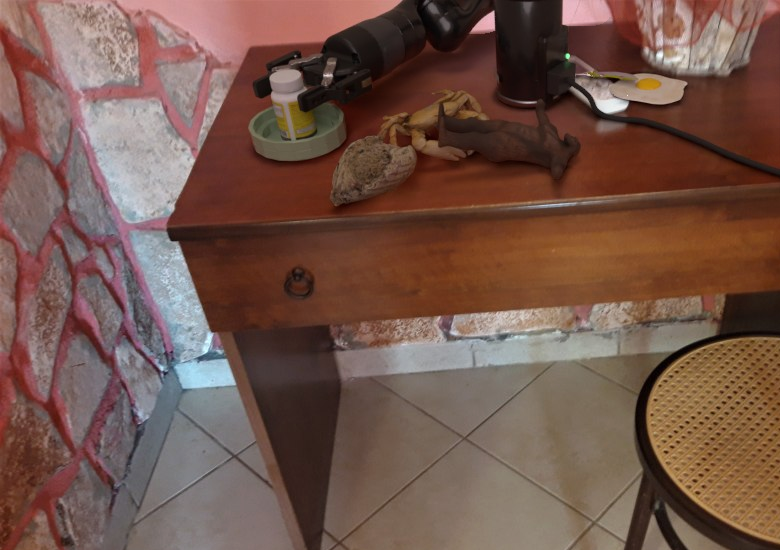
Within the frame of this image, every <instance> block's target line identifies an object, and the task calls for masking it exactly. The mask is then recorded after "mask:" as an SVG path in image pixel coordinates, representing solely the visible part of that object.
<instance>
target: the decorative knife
mask: <svg viewBox="0 0 780 550" xmlns="http://www.w3.org/2000/svg"><path fill="white" fill-rule="evenodd" d="M583 73H584V72H583ZM587 73H588V74H590V75H591V77H593V78H592V79H594V78H601V79H604V78H614V79H619V80H622V79H626V80H630V81H634V82H636V81H637V80H638V78H637V77H636V76H634V74H631V73H628V72H621V71H620V72H619V71H598V70H595V69H594V70H592V71H590V70H588V71H587ZM587 73H586V72H585V73H584V74H587ZM592 75H593V76H592ZM600 75H603V76H604V77H601V76H600Z"/></svg>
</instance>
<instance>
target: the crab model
mask: <svg viewBox="0 0 780 550" xmlns="http://www.w3.org/2000/svg"><path fill="white" fill-rule="evenodd" d="M431 94H432V95H440V94H443V95H444V96H442V97H441V98H439V99H437V100H435V101H434V102H433V103H432V104H430V105H428V106H426V107H424V108H421V109H419V110H418V111H416V112H414V113H413V114H411V115H410V113H408V112H406V111H405V112H400V113H397V114H394V115H388V114H386V115H384V116H383V117H382V121H384V122H383V123H382V124H381V126H380V128H379V132H378V133H377V134H376V136H382V138H383V140H384V139H385V138H386V136H387V134H388V135H389V137H390V138H389V144H391V145H395V146H398V147H399V143H398V139H397V134H399V135H402V136H405V137H406V136H407V137H410V136H411V146H412V148H413V149H414V150H415V151H416V152H419V153H421V154H424V155H427V156H430V157H432V158H437V159H442V160H446V161H455V162H458V161H459V160H460V158H459V157H461V158H463V159H465V158H466V157H467V156H470V155H472V154H474V153H475V151H473V150H466V152H465V151H464V150H461V149H458V148H454V147H451V146H445V147H442V148H439V147H438V140H434V139H429V140H427V139H426V135H428V136H430V137H432V135H431V132H430V131H431V130H434V129H435V128H437V120H438V110H439V103H440V102H443V105H444V112H445V114H446V115H448V116H452V117H455V118H458V119H466V118H468V117H475V118H477V119H479V120H491V119H490V117H489V115H487V114H486V113H484V112H483V108H482V106H481V104H480V103H479V102H478V100H477V99H476V98H475V97H474V96H472V95H471V94H469V93H468V92H467V91H466V90H463V89H460V90H457V92H456V91H453V90H451V89H441V90H436V91H433V92H431ZM462 106H464V108H463V109H461V107H462ZM470 108H472V109H473V110H470ZM388 132H389V133H388Z"/></svg>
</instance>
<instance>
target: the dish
mask: <svg viewBox="0 0 780 550" xmlns="http://www.w3.org/2000/svg"><path fill="white" fill-rule="evenodd" d="M313 114H314V118H315V123H316V128H317V132H318V135H316V136H313V137H310V138H307V139H300V140H294V141H283V140H282V138H281V134H280V130H279V126H278V123H277V119H276V115H275V111H274V107H273V105H272V106H269V107H268V108H265V109H264V110H262V111H260V112H258V113H256V114H255V116H254V117H252V118H251V119H250V120H249V123H248V128H247V129H248V133H249V136H250V141H251V144H252V146H253V148H254V151H255V152H256V153H257V154H259V155H260V156H262V157H264V158H266V159H270V160H275V161H280V162H282V161H283V162H300V161H307V160H308V161H309V160H313V159H316V158H319V157H321V156H324V155H327V154H329V153H331V152H332V151H334V150H335V149H337V148H339V147H341V145H343V143H344V142H345V141H346V140H347V133H348V129H347V124H346V119H345V113H344V112H343V110H342V109H341V108H340V107H339V106H337V105H335V104H333V103H323V104H321V105H320V106H318V107H316V108H314V109H313Z"/></svg>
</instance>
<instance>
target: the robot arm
mask: <svg viewBox="0 0 780 550" xmlns="http://www.w3.org/2000/svg"><path fill="white" fill-rule="evenodd" d="M491 13H493V14H494V15H493V16H494V17H493V18H494V39H495V40H494V41H495V43H494V44H495V65H496V66H495V67H496V68H495V67H493V71H494V72H493V73H494V77H495V79H496V96H497V99H498V100H499V101H500V102H501V103H503V104H505V105H507V106H510V107H514V108H521V109H533V108H535V109H536V104H537V101H538V100H539V99H542V100H543V102H544V103H545V109H548V108H549V107H550V106H552V105H553V104H555V103H556V102H558V101H559V100H560V99H561V98H563V97H564V96H566V95H567V94H568V90H569V89H570V88H573V89H575V90H576V91H578V92H580V93H581V94H582V95H583V96H584V97H585V98H586V100H587V101H588V103H589V105H590V108H591V110H592V112H593V113H594V114H595V115H597V116H599V117H600V118H601V119H604V120H607V121H612V122H617V123H625V124H626V123H628V124H641V125H646V126H649V127H652V128H656V129H659V130H661V131H665V132H667V133H670V134H673V135H676V136H678V137H681V138H682V139H686V140H688V141H690V142H693V143H696V144H698V145H700V146H702V147H705V148H707V149H708V150H710V151H712V152H715V153H717V154H719V155H722V156H724V157H726V158H728V159H731V160H734V161H737V162H739V163H741V164H745V165H746V166H750V167H752V168H754V169H757V170H760V171H764V172H766V173H768V174H769V173H770V174H772V175H776V176H779V177H780V168H777V167H774V166H771V165H769V164H765V163H762V162H759V161H756V160H753V159H751V158H748V157H745V156H743V155H740V154H737V153H734V152H733V151H730V150H727V149H725V148H723V147H721V146H719V145H716V144H715V143H712V142H710V141H708V140H706V139H703V138H701V137H699V136H696V135H694V134H691V133H688V132H687V131H683V130H681V129H678V128H676V127H674V126H670V125H669V124H668V125H667V124H665V123H661V122H658V121H655V120H651V119H649V118H644V117H638V116H637V117H636V116H617V115H611V114H608V113H606V112H604V111H602V110H601V109H599V108H598V106H597V104H596V101H595V98H594V97H593V96H592V93H590V92H589V91H588V90H587V89H586V88H585V87H584V86H582V85H581V84H579V83H578V82H576V76H575V73H577V72H576V70H577V68H576V67H577V63H574V62H571V61H569V59H570V54H569V33H570V32H569V30H570V29H569V26H568V25H567V24H563V22H564V21H563V18H564V0H401V1H400V2H399V3H397V4H396V5H395V6H394V7H393V8H391V9H390V10H388V11H385V12H383V13H381V14H379V15H377V16H374V17H372V18H368V19H365V20H362V21H359V22H357V23H355V24H353V25H351V26H349V27H347V28H345V29H343V30H341V31H339V32H336V33H334V34H332V35H329V37H327V38H326V39H325V41H324V43H323V46H322V48H321V51H320V53H313V54H310V55H309V56H306V57H304V56H302V51H301V50H298V49H295V50H292V51H290V52H288V53H285V54H284V55H282V56H279V57H278V58H276V59H273V60H271V61H269V62H267V63H265V68H266V72H267V74H265V75H262V76H261V77H259V78H257V79H255V80H253V81H252V89H253V93H254V96H255V97H256V98H257V99H265V98H266V97H268V96H271V93H272V91H273V90H272V88H271V83H270V76H271V75H272V74H273V73H275V72H278V71H281V70H289V69H291V70H297V71H299V72H300V73H301V74H302V79H303V83H304V85H303V86H305V87H306V88H307V89H308V90H306V91H304V92H302V93H300V94H299V95H298V96H297V101H298V105H299V109H300V111H302V112H305V113H307V112H308V111H310V110H312V109H314V108H316V107H318V106H320V105H321V104H323V103H331V104H333V103H334V102H335V101H337V102H338V104H339V105H341V106H343V105H347V104H349V103H351V102H353V101H354V100H356V99H358V98H360V97H362V96H363V95H366V94H367V93H369V92H371V91H372V90H373V89H374V86H373V83H374V82H376V81H378V80H380V79H382V78H384V77H385V76H387V75H388V74H390V73H392V72H393V71H394V70H395V69H397V68H399V67H400V66H401V65H403V64H405V63H407V62H409V61H410V60H412V59H415V58H416V57H418V56H419V55H420V54H421V53H422V52H423V51H424V50H425V48H426V46H427V43H429V45H430V46H431V48H432V49H434V50H435V51H437V52H439V53H443V54H449V53H452V52H454V51H456V50H458V49H459V48H460V47H461V46H462V45H463V43H464V42H465V41H466V40H467V37H468V36H469V35H470V34H471V32H472V31H473V29H474V28H475V27H476V25H478V23H480V21H481V20H483V18H485V17H487V16H488V15H489V14H491Z"/></svg>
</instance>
